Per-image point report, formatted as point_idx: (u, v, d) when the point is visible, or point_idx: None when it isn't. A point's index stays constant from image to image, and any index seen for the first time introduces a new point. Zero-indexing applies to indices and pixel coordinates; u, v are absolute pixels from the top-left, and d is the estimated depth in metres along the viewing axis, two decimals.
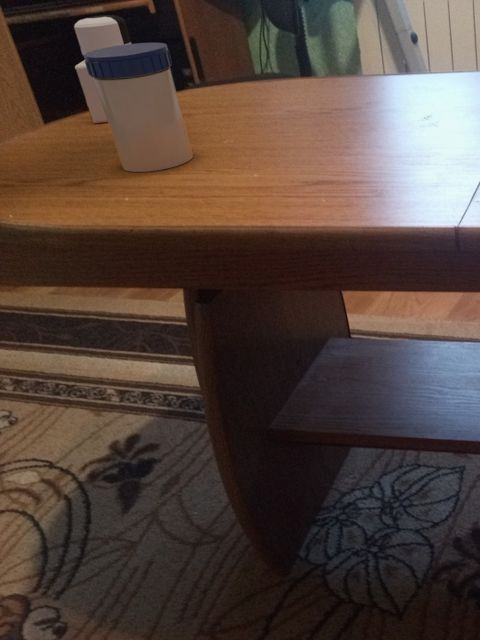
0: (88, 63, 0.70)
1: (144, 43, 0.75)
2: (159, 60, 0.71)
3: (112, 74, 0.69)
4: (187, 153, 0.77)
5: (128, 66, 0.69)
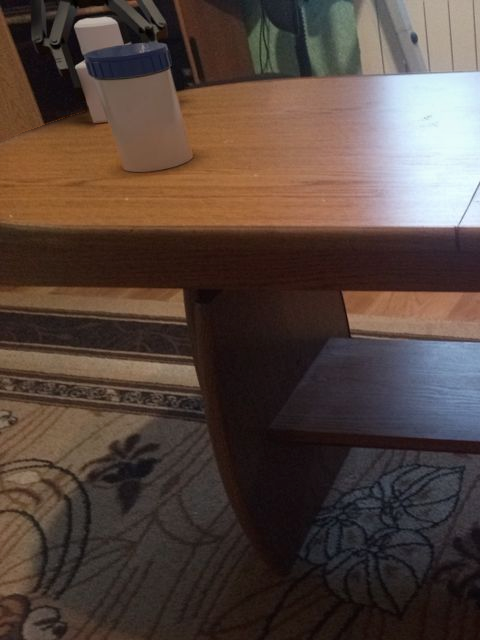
0: (88, 63, 0.70)
1: (144, 43, 0.75)
2: (159, 60, 0.71)
3: (112, 74, 0.69)
4: (187, 153, 0.77)
5: (128, 66, 0.69)
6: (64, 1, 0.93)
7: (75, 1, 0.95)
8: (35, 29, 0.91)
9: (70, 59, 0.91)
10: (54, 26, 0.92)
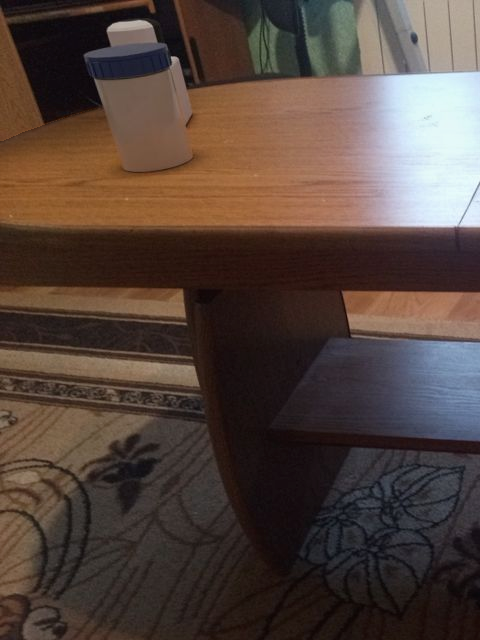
0: (88, 63, 0.70)
1: (144, 43, 0.75)
2: (159, 60, 0.71)
3: (112, 74, 0.69)
4: (187, 153, 0.77)
5: (128, 66, 0.69)
6: None
7: None
8: None
9: None
10: None
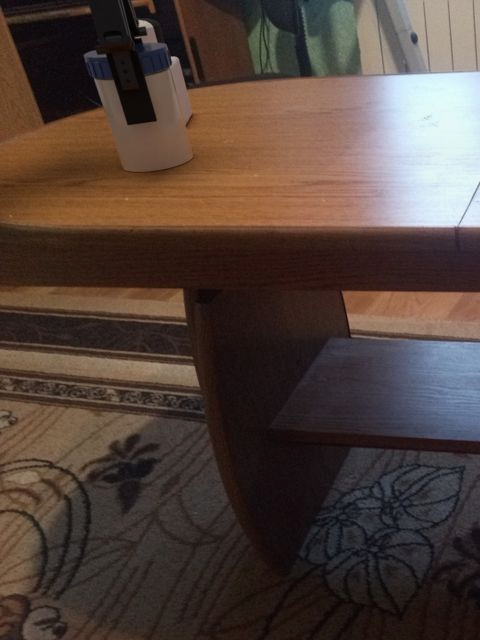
0: (88, 63, 0.70)
1: (144, 43, 0.75)
2: (159, 60, 0.71)
3: None
4: (187, 153, 0.77)
5: None
6: None
7: None
8: None
9: None
10: None
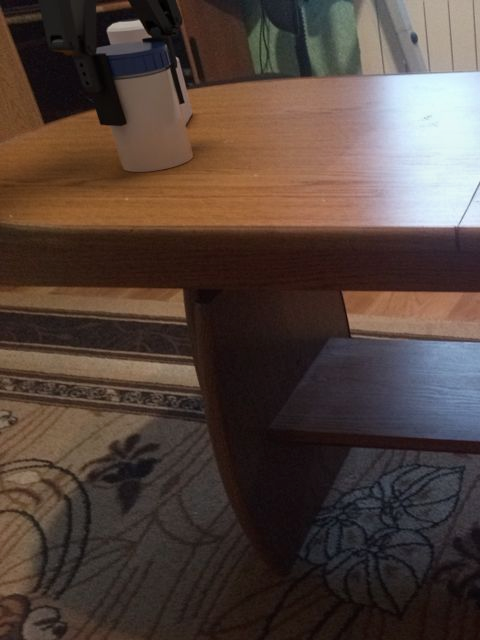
0: (166, 51, 0.72)
1: None
2: None
3: None
4: (187, 153, 0.77)
5: None
6: None
7: None
8: (68, 28, 0.64)
9: (112, 80, 0.69)
10: (87, 22, 0.66)
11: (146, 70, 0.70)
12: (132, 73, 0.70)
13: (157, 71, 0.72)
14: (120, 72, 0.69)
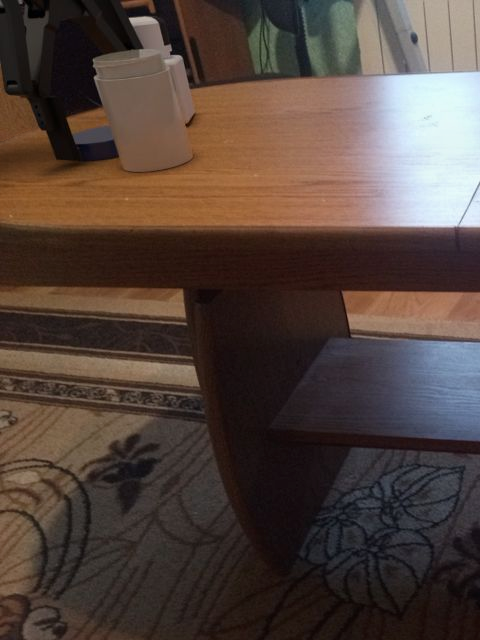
0: None
1: None
2: None
3: None
4: (187, 153, 0.77)
5: None
6: (49, 29, 0.73)
7: None
8: (24, 75, 0.71)
9: (65, 120, 0.76)
10: (42, 69, 0.73)
11: None
12: (108, 158, 0.80)
13: (157, 71, 0.72)
14: (97, 157, 0.79)
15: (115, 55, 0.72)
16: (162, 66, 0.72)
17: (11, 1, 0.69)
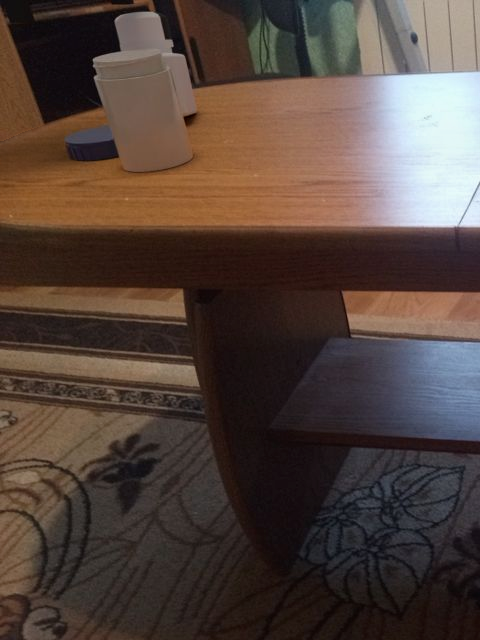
0: None
1: (69, 140, 0.80)
2: None
3: None
4: (187, 153, 0.77)
5: None
6: None
7: None
8: None
9: None
10: None
11: None
12: (107, 157, 0.80)
13: (157, 71, 0.72)
14: (97, 157, 0.79)
15: (115, 55, 0.72)
16: (162, 66, 0.72)
17: None
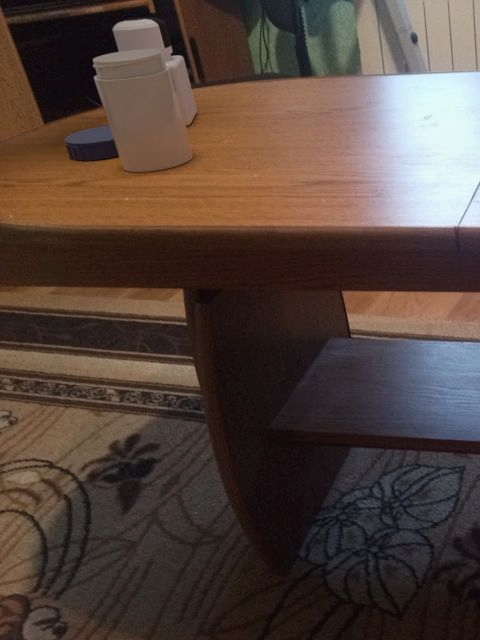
0: None
1: (69, 140, 0.80)
2: None
3: None
4: (187, 153, 0.77)
5: None
6: None
7: None
8: None
9: None
10: None
11: None
12: (107, 157, 0.80)
13: (157, 71, 0.72)
14: (97, 157, 0.79)
15: (115, 55, 0.72)
16: (162, 66, 0.72)
17: None
